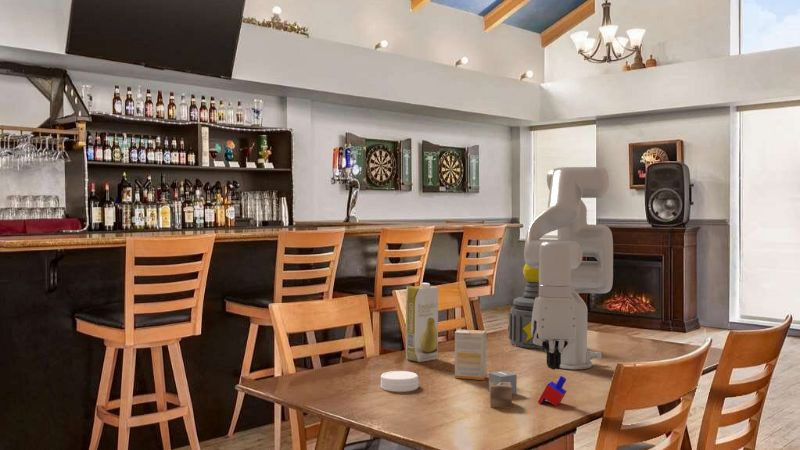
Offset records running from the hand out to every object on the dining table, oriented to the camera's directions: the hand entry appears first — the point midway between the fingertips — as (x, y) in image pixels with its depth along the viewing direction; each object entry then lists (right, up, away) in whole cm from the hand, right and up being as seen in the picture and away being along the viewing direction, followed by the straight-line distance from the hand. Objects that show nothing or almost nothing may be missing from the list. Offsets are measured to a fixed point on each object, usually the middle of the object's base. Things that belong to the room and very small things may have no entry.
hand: (553, 368), depth 169 cm
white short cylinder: (-37, -8, +15) cm, 41 cm away
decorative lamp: (+10, -7, +75) cm, 76 cm away
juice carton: (-30, -8, +49) cm, 58 cm away
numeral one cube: (-11, -8, +10) cm, 17 cm away
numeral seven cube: (-13, -9, -1) cm, 16 cm away
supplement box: (-17, -8, +26) cm, 32 cm away
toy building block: (0, -9, 0) cm, 9 cm away
